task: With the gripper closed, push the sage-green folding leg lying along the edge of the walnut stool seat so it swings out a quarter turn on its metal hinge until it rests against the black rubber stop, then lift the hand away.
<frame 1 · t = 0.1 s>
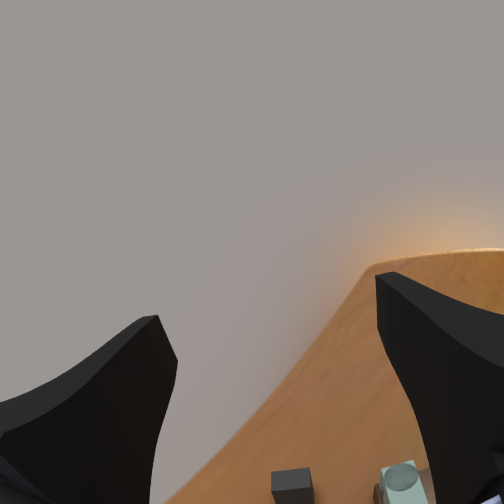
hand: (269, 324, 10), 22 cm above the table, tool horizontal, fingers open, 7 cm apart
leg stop: (296, 500, 21), on the table
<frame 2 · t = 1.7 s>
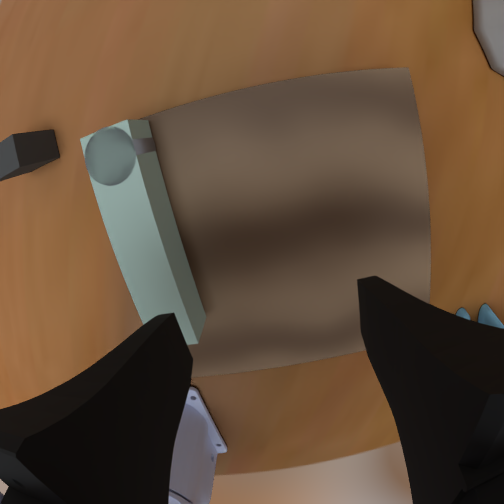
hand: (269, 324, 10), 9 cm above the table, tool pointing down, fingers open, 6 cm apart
chair: (460, 346, 22), on the table
stool seat: (285, 229, 19), on the table
folding leg: (146, 237, 15), point 4 cm above the table, hinge at 0.0°
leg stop: (41, 151, 17), on the table
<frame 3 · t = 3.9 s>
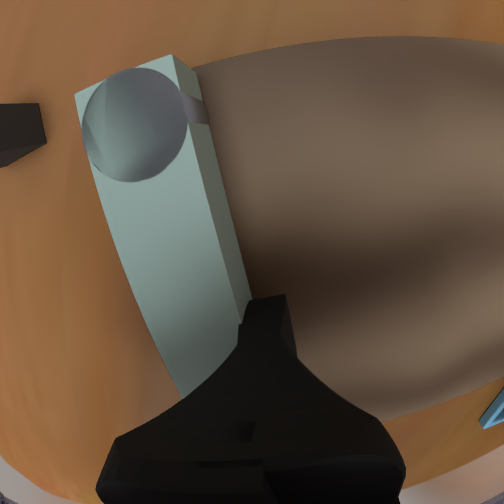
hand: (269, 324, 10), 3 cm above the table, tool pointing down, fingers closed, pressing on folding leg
stool seat: (382, 250, 13), on the table
folding leg: (192, 275, 9), point 4 cm above the table, hinge at 0.6°, touching gripper
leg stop: (20, 135, 11), on the table
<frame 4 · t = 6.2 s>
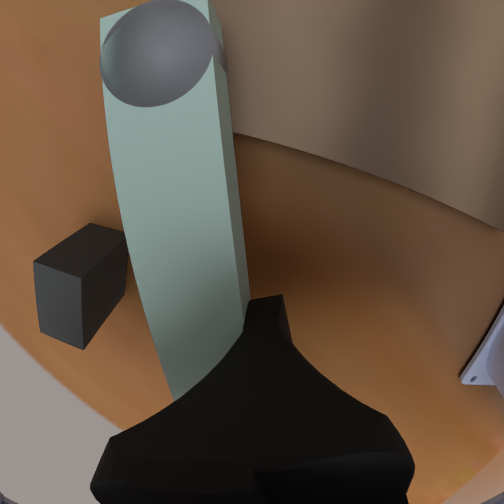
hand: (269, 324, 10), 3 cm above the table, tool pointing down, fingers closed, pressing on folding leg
folding leg: (188, 222, 8), point 4 cm above the table, hinge at 69.6°, touching gripper
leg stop: (106, 259, 13), on the table
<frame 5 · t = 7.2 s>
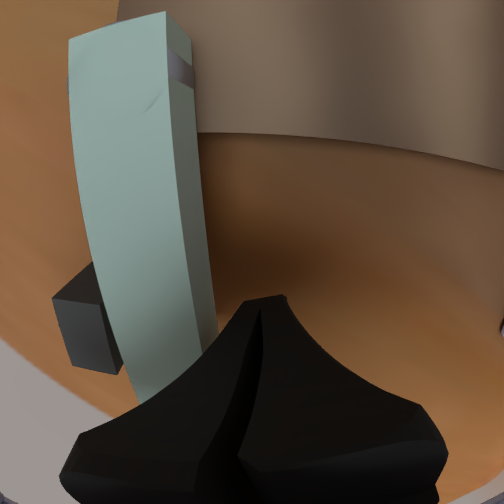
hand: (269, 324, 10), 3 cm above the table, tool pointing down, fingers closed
folding leg: (151, 235, 8), point 4 cm above the table, hinge at 84.3°
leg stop: (126, 284, 14), on the table
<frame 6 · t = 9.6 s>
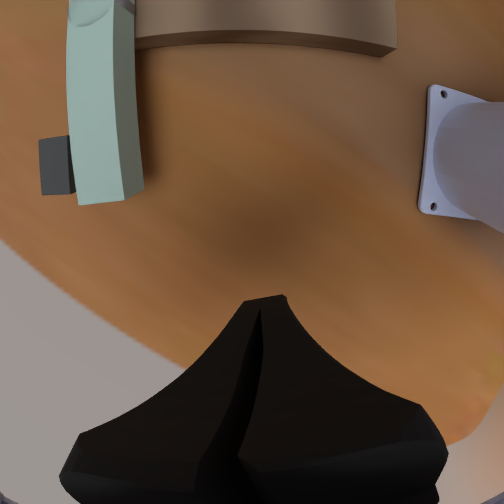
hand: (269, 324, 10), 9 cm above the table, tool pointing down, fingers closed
folding leg: (101, 85, 12), point 4 cm above the table, hinge at 84.5°
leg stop: (92, 157, 17), on the table
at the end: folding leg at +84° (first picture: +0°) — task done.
